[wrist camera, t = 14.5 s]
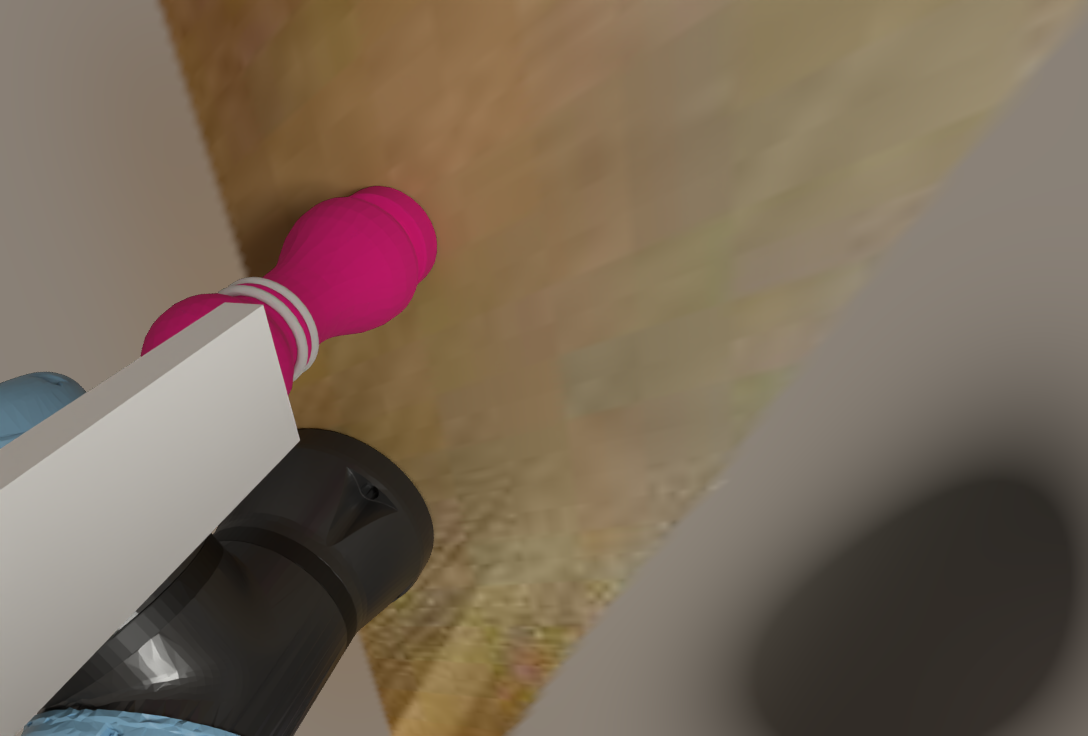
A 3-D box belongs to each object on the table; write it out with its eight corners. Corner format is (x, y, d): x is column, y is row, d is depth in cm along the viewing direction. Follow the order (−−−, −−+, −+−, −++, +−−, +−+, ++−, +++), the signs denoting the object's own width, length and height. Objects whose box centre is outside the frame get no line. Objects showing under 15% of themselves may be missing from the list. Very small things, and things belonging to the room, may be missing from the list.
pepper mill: (316, 247, 46) (50, 423, 30) (361, 151, 42) (83, 292, 26) (413, 315, 47) (205, 526, 30) (467, 226, 43) (260, 413, 26)
